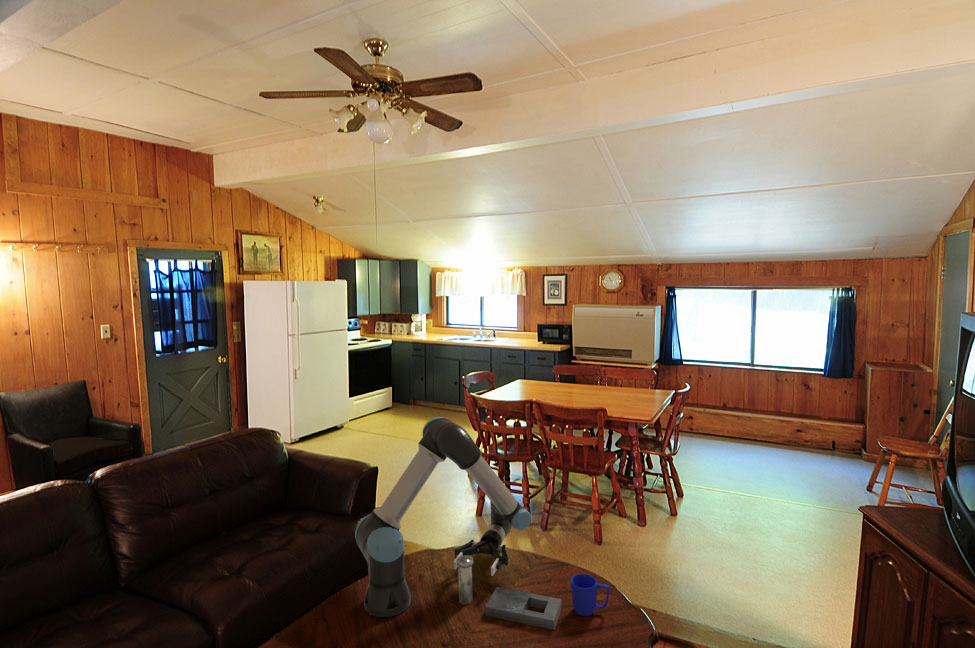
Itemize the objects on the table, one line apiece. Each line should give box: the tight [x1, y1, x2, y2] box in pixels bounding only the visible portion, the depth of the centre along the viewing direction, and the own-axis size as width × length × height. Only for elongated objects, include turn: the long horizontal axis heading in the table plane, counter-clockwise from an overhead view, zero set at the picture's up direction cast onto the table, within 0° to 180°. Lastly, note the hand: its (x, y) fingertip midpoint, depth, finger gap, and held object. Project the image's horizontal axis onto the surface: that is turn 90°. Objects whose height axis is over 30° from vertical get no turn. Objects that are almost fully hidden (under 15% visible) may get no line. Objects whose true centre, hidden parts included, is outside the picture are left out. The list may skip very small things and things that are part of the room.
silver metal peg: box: [456, 555, 474, 605], centre depth 168 cm, size 6×6×14 cm
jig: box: [485, 586, 562, 631], centre depth 161 cm, size 22×11×3 cm, turn 71°
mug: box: [570, 573, 611, 617], centre depth 161 cm, size 8×12×10 cm
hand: (473, 568), depth 173 cm, fingers open, 13 cm apart
